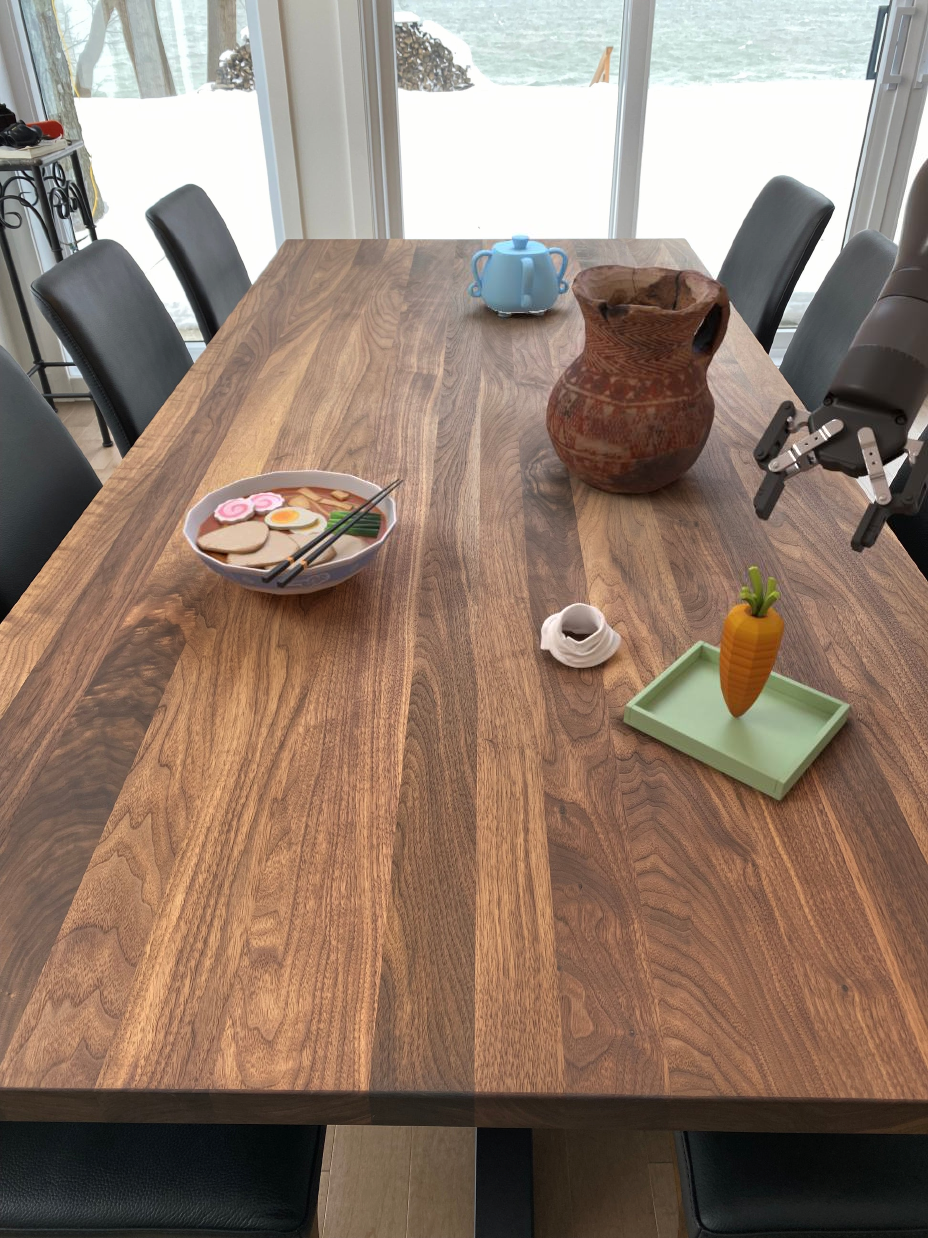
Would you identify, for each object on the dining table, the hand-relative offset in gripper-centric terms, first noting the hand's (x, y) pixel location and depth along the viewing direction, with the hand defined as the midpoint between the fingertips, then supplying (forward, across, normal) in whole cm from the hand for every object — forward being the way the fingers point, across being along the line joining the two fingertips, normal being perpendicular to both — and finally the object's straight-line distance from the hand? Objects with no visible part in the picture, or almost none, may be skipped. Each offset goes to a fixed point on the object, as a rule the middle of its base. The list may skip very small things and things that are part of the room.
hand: (806, 532), depth 83 cm
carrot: (+16, 0, +7) cm, 18 cm away
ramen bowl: (+23, -49, 0) cm, 54 cm away
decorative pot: (-43, -91, +66) cm, 120 cm away
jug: (-9, -36, +33) cm, 50 cm away
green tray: (+17, 0, +7) cm, 18 cm away
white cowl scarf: (+17, -17, +7) cm, 25 cm away
